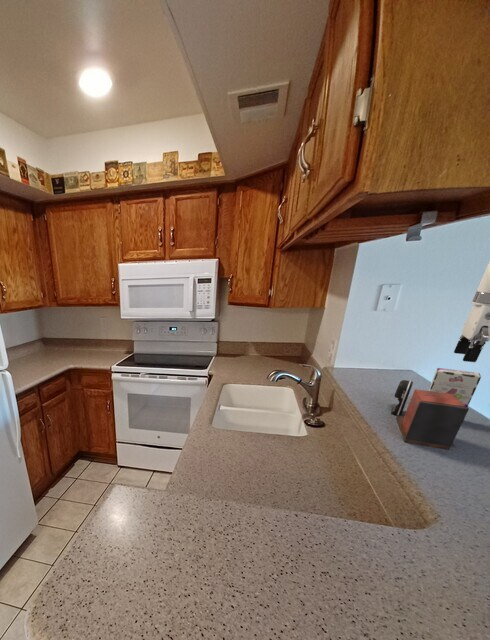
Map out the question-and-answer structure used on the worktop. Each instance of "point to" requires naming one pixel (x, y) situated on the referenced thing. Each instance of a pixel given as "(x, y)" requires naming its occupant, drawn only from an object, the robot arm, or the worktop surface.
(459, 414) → the wooden speaker
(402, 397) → the battery charger
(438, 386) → the candy bar box
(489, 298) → the robot arm
